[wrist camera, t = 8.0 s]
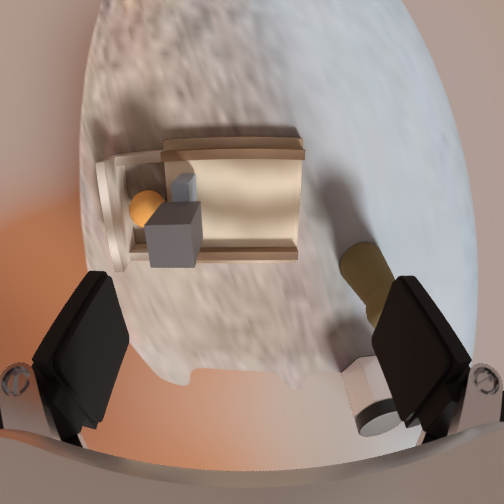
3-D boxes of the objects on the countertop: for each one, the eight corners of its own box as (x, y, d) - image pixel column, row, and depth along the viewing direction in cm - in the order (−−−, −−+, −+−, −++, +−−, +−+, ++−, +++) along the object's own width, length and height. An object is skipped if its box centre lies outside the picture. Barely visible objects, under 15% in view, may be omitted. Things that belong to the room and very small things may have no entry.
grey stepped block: (170, 174, 28) (140, 203, 20) (205, 173, 28) (188, 201, 20) (176, 237, 31) (154, 285, 23) (208, 236, 31) (196, 285, 23)
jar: (361, 388, 49) (377, 439, 38) (331, 379, 46) (346, 436, 36) (394, 359, 45) (418, 411, 34) (366, 348, 43) (390, 406, 32)
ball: (152, 197, 26) (170, 185, 30) (119, 196, 27) (139, 185, 30) (157, 235, 28) (173, 220, 32) (125, 232, 29) (143, 218, 32)
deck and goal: (115, 145, 28) (94, 152, 23) (300, 137, 28) (311, 143, 24) (131, 258, 34) (117, 279, 30) (293, 257, 35) (300, 280, 30)
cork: (354, 235, 33) (393, 286, 24) (390, 251, 35) (431, 302, 25) (330, 275, 36) (357, 334, 26) (366, 288, 37) (398, 344, 28)
